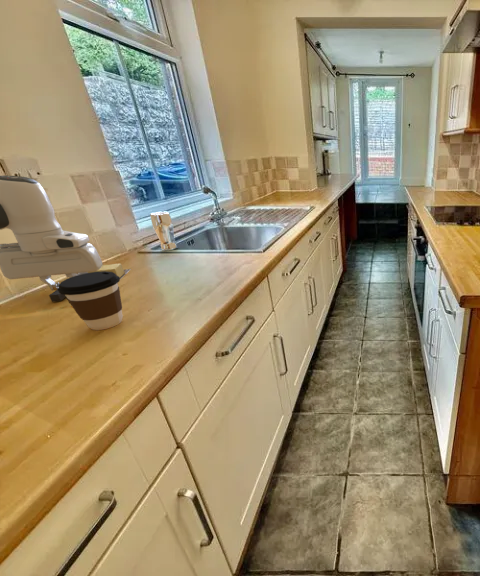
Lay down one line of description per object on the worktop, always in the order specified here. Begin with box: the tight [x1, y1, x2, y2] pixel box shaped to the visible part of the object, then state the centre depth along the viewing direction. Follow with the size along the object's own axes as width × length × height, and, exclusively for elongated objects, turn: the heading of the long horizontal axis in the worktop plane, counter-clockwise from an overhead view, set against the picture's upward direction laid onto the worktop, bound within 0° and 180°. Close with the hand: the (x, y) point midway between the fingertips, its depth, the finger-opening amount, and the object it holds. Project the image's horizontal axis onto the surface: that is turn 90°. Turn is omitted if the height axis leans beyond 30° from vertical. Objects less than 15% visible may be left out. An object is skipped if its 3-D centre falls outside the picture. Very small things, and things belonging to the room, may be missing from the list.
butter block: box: [88, 263, 125, 278], centre depth 101 cm, size 7×6×4 cm
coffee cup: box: [58, 271, 123, 331], centre depth 76 cm, size 11×11×12 cm
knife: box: [48, 272, 88, 303], centre depth 94 cm, size 21×2×3 cm, turn 18°
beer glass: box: [149, 211, 179, 251], centre depth 133 cm, size 7×7×15 cm
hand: (64, 288), depth 89 cm, fingers closed on knife, 2 cm apart
